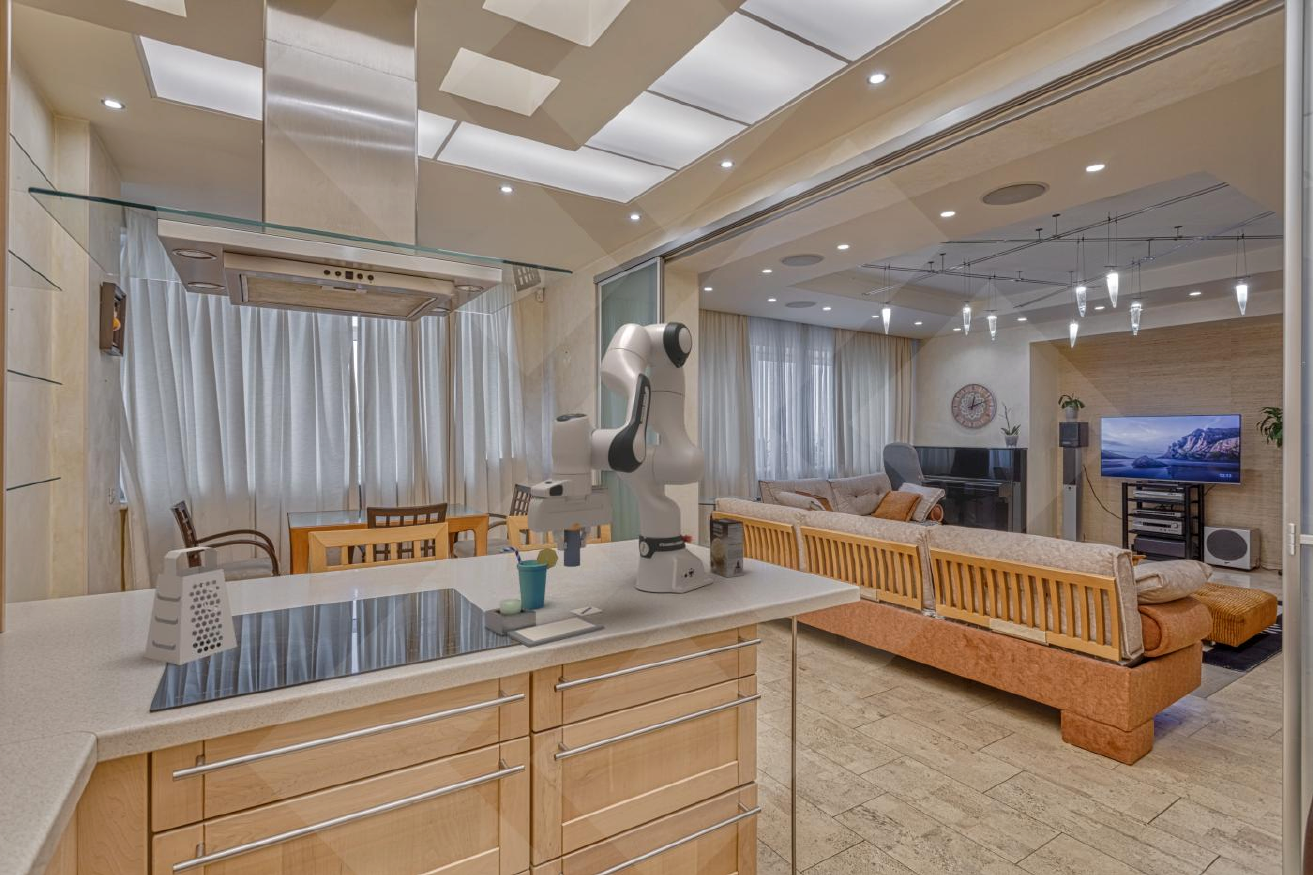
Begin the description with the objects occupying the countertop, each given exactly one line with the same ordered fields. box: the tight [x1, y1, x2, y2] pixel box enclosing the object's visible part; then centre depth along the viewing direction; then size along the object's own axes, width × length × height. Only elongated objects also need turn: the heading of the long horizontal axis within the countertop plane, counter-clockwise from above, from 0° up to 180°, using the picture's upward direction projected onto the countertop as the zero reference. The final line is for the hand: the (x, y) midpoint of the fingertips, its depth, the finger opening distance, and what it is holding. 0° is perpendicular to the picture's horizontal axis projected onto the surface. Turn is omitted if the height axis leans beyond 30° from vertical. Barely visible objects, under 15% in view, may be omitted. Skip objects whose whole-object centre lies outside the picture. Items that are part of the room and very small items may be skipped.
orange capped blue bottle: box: [563, 523, 581, 568], centre depth 137 cm, size 4×4×9 cm
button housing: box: [484, 605, 537, 636], centre depth 134 cm, size 8×8×4 cm
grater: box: [144, 546, 238, 666], centre depth 120 cm, size 10×10×20 cm
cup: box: [499, 546, 559, 610], centre depth 150 cm, size 14×8×15 cm, turn 111°
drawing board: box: [505, 615, 605, 648], centre depth 131 cm, size 18×10×1 cm, turn 130°
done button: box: [499, 598, 522, 616], centre depth 134 cm, size 4×4×4 cm
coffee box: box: [709, 517, 744, 578], centre depth 185 cm, size 9×6×16 cm
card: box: [569, 605, 604, 617], centre depth 146 cm, size 6×5×1 cm
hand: (571, 548), depth 137 cm, fingers closed on orange capped blue bottle, 4 cm apart
